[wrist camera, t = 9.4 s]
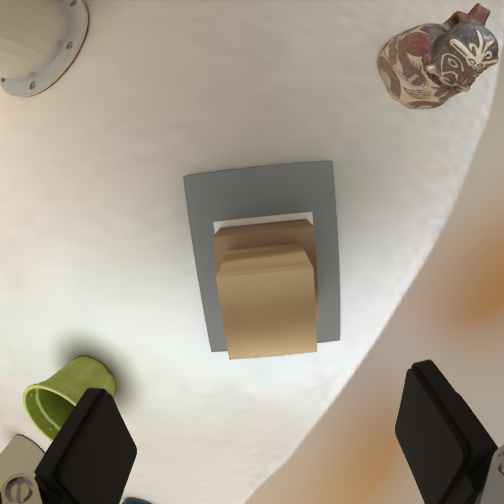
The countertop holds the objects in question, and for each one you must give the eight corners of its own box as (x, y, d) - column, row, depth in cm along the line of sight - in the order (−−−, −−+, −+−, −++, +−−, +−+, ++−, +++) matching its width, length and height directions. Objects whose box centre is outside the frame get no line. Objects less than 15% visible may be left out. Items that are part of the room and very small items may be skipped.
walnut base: (220, 227, 26) (212, 237, 22) (306, 218, 26) (314, 227, 22) (231, 307, 28) (226, 328, 24) (312, 299, 27) (319, 319, 23)
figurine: (367, 85, 23) (431, 37, 12) (387, 27, 22) (446, -34, 10) (433, 124, 24) (520, 107, 12) (450, 65, 22) (527, 29, 11)
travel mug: (51, 454, 37) (7, 526, 20) (48, 470, 39) (10, 534, 21) (15, 427, 36) (-36, 491, 19) (14, 445, 38) (-29, 504, 21)
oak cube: (228, 249, 22) (215, 277, 16) (300, 242, 22) (313, 267, 16) (237, 315, 23) (229, 359, 18) (304, 308, 23) (316, 351, 17)
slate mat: (185, 176, 26) (183, 176, 25) (329, 161, 25) (332, 160, 24) (212, 347, 30) (211, 352, 29) (338, 336, 29) (340, 340, 28)
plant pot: (130, 357, 31) (96, 408, 22) (130, 417, 33) (106, 467, 24) (58, 332, 30) (14, 371, 22) (65, 393, 33) (33, 434, 24)
